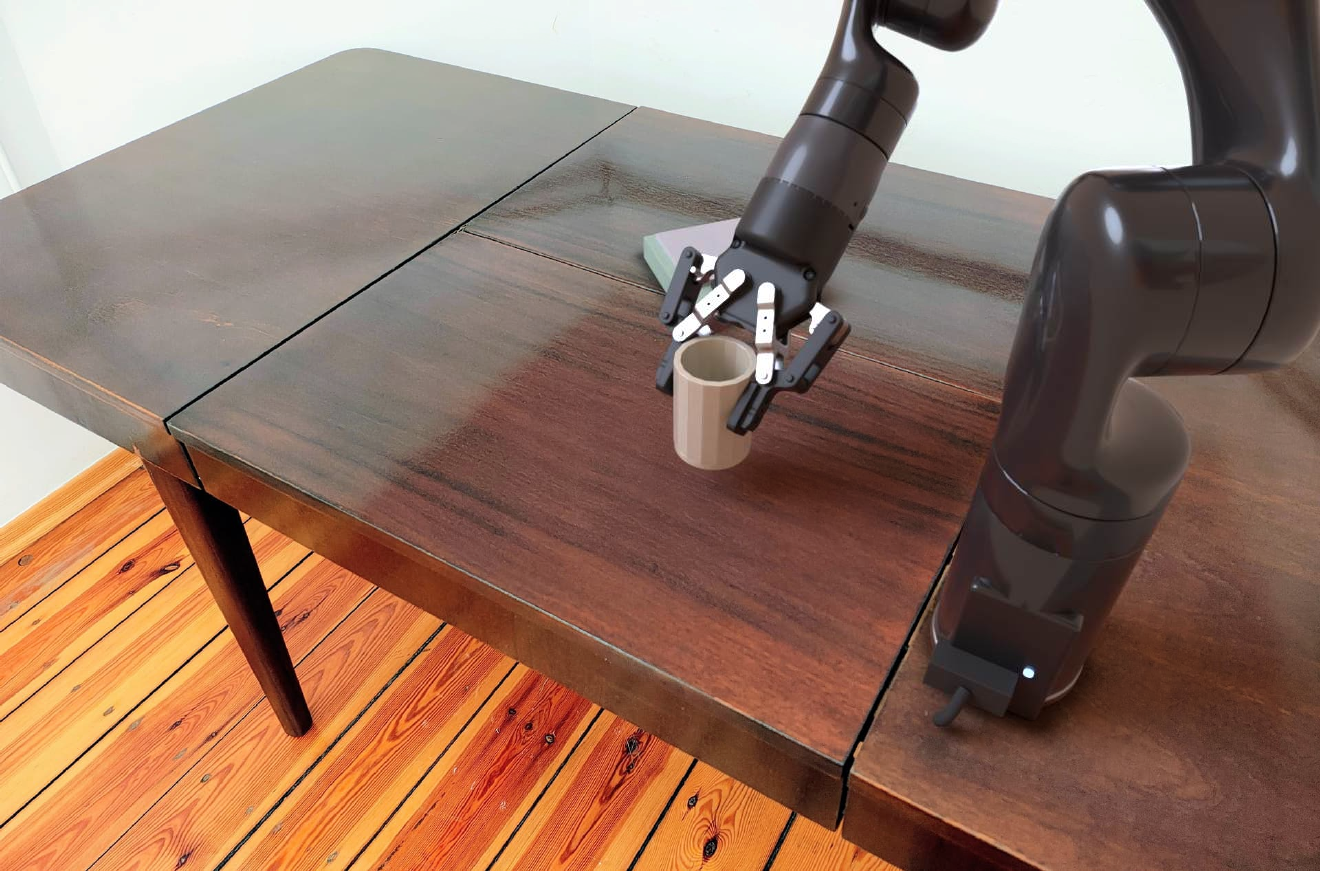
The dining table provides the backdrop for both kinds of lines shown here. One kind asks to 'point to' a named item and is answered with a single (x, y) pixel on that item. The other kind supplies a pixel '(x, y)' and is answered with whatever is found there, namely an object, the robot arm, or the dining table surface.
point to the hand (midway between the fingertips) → (699, 411)
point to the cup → (710, 400)
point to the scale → (669, 245)
